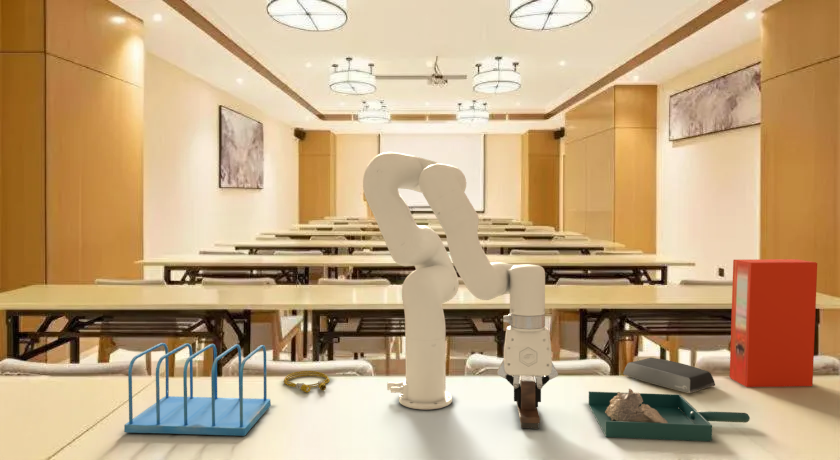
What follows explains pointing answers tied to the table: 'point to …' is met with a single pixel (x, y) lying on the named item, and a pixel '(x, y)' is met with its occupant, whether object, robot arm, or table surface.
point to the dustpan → (671, 407)
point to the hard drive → (670, 374)
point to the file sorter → (198, 403)
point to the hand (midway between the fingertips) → (527, 404)
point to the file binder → (773, 322)
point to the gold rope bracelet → (303, 386)
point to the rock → (632, 409)
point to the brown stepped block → (528, 404)
